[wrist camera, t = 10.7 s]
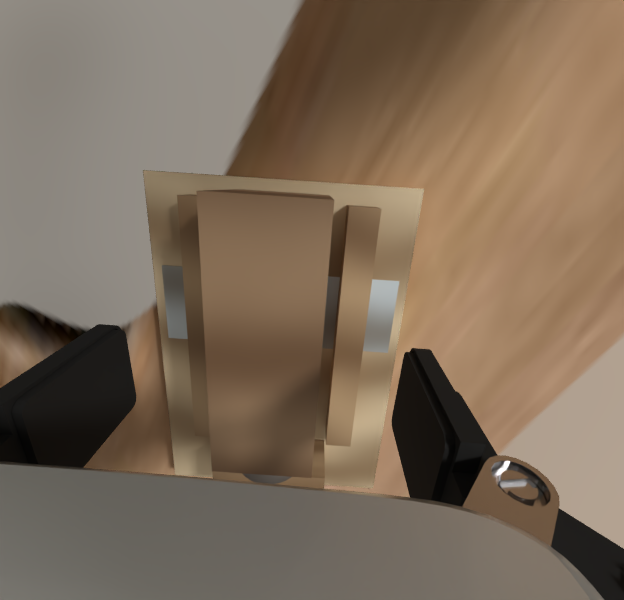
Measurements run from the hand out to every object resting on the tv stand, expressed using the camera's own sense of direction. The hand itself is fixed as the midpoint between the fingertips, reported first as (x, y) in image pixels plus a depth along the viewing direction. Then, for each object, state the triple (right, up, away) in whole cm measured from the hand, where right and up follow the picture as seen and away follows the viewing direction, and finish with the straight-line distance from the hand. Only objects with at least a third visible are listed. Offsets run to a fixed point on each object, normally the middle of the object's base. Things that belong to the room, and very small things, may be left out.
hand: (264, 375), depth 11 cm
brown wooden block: (0, +2, +7) cm, 8 cm away
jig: (0, -1, +10) cm, 10 cm away
